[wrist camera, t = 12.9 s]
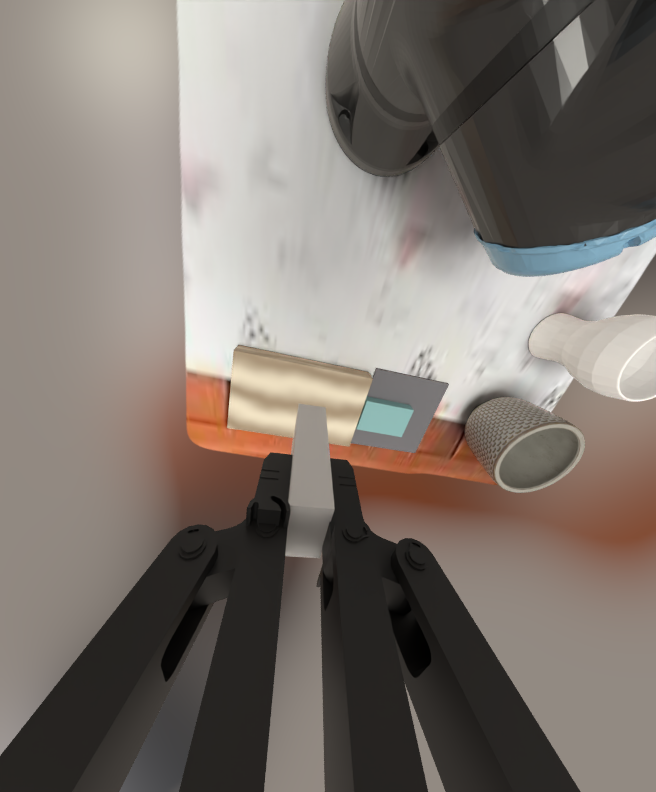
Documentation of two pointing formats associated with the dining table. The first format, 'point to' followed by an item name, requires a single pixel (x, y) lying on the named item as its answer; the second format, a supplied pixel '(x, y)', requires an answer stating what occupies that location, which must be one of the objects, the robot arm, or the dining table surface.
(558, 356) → the white vase
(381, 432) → the teal foam pad
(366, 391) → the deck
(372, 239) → the dining table surface
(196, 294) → the dining table surface
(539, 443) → the planter
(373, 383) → the mat
